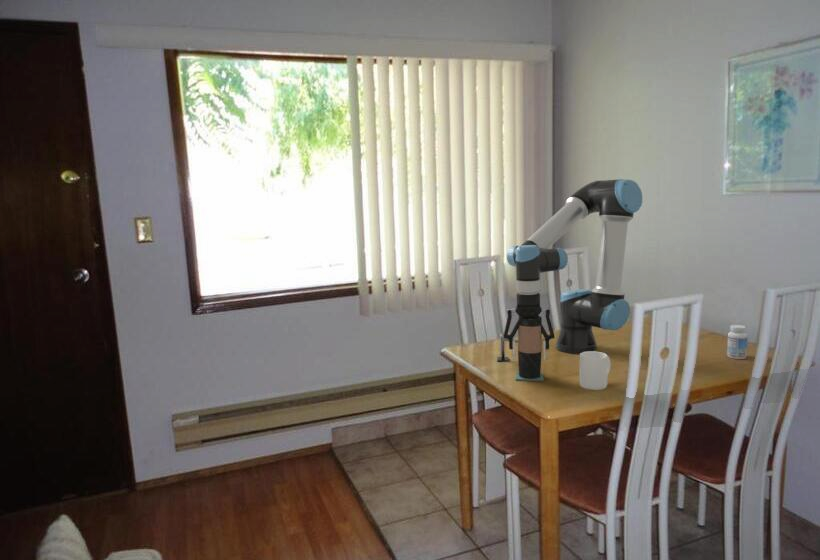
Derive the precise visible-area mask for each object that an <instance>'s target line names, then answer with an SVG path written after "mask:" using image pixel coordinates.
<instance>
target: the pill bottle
mask: <svg viewBox="0 0 820 560" xmlns="http://www.w3.org/2000/svg"><path fill="white" fill-rule="evenodd" d="M729 327H730V328H729V329H730V331H729V332H728V334H727V347H726V348H727V350H726V354H727V357H728V358H730V359H732V360H733V359H734V360H745V359H746V358H747V356H748V338H749V337H748V334H747V333H746V329H747V328H746V326H745V325H741V324H731V325H730V326H729Z"/></svg>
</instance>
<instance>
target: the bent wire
mask: <svg viewBox="0 0 820 560" xmlns="http://www.w3.org/2000/svg"><path fill="white" fill-rule="evenodd" d="M505 342H508V343H509V340H508V339H505V338H504V332H501V333H500V353H501V356H497V361H496V362H498V363H499V362H501V363H508V362H509V356H505ZM515 344H518V339H515Z"/></svg>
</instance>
